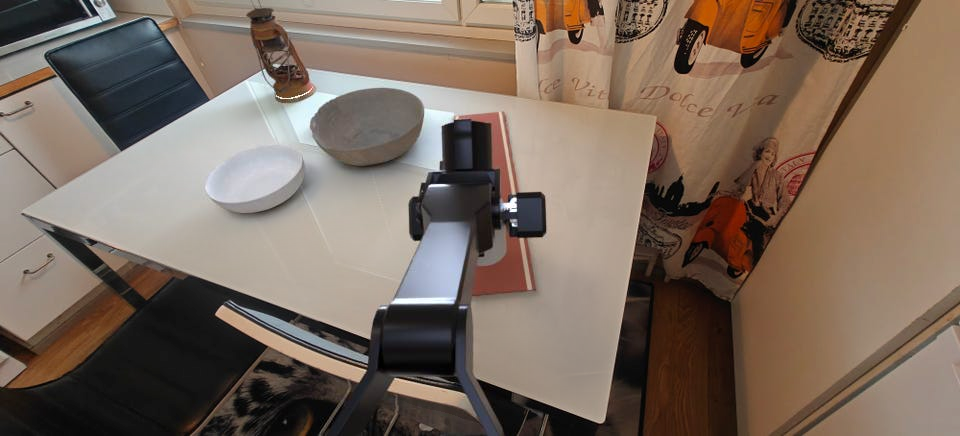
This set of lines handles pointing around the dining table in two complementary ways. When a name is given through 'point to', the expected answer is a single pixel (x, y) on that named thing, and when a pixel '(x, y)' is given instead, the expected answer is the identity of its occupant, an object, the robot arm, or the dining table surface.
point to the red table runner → (516, 263)
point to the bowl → (368, 125)
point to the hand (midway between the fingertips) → (481, 217)
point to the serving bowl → (256, 178)
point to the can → (495, 247)
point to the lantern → (289, 76)
